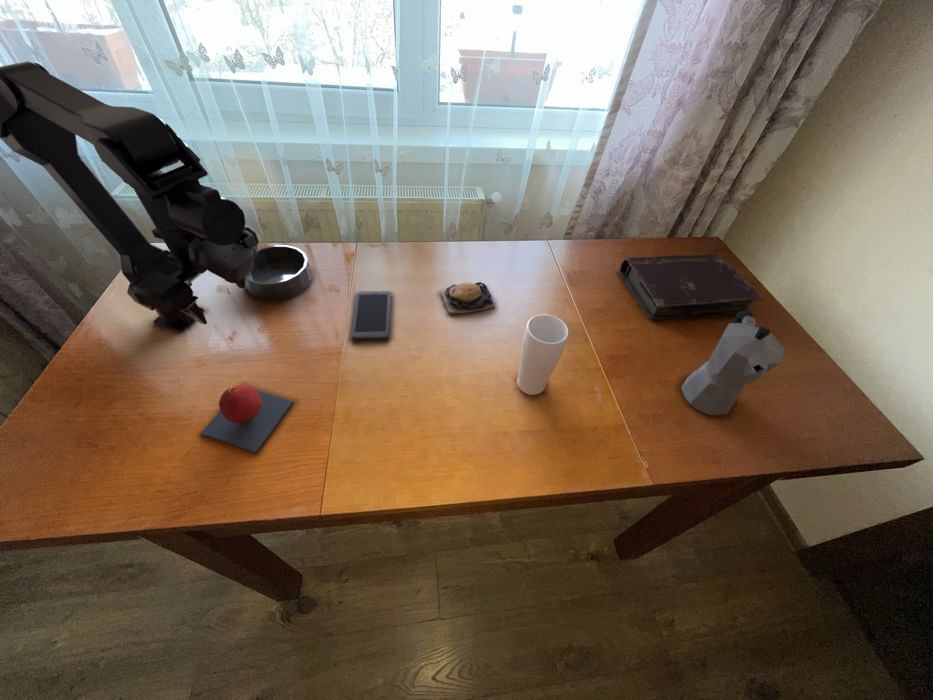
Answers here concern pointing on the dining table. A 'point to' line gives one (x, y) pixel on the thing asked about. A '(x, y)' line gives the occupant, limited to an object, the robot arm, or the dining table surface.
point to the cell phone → (371, 315)
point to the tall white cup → (540, 352)
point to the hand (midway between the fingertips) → (224, 304)
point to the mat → (250, 424)
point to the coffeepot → (733, 365)
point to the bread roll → (467, 298)
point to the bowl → (278, 273)
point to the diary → (687, 286)
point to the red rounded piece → (240, 403)
